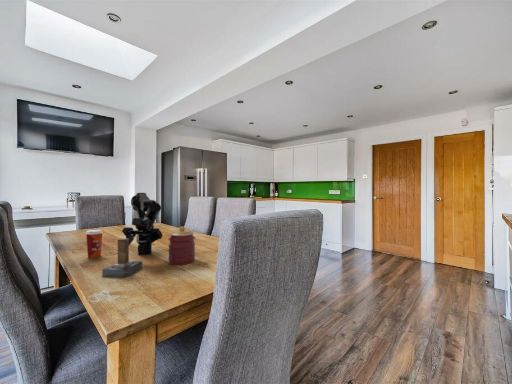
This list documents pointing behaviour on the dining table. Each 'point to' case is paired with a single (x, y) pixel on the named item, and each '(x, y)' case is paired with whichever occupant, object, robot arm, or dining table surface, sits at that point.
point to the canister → (181, 247)
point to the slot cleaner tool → (123, 253)
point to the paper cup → (94, 243)
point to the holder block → (122, 270)
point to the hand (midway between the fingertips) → (134, 248)
